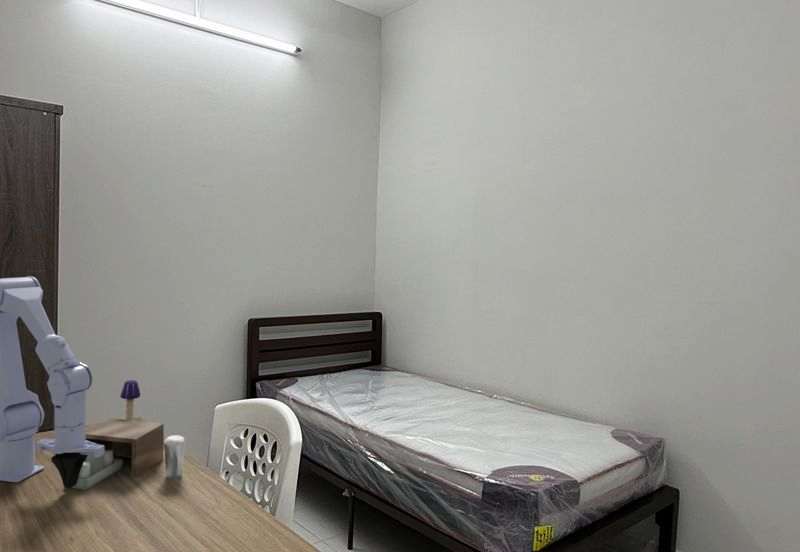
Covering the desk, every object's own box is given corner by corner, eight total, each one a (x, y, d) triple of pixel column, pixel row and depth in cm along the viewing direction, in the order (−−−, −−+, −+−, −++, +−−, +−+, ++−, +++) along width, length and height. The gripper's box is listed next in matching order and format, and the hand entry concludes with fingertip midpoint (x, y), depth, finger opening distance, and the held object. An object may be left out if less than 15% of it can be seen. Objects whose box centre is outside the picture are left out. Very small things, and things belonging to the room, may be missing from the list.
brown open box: (79, 470, 133) (79, 433, 132) (111, 453, 143) (111, 418, 143) (135, 477, 130) (136, 439, 130) (163, 458, 141) (163, 423, 141)
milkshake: (180, 481, 129) (181, 437, 129) (159, 478, 130) (159, 435, 130) (192, 473, 134) (192, 431, 133) (171, 470, 135) (171, 428, 134)
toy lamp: (133, 440, 152) (134, 378, 151) (143, 444, 150) (144, 381, 148) (115, 445, 149) (116, 381, 147) (125, 449, 146) (126, 384, 145)
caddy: (65, 487, 124) (65, 455, 124) (103, 465, 136) (103, 436, 136) (85, 489, 123) (86, 457, 123) (122, 467, 135) (122, 438, 135)
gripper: (24, 426, 119) (25, 490, 120) (88, 432, 116) (88, 498, 117) (50, 415, 126) (50, 476, 127) (111, 421, 123) (110, 483, 124)
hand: (70, 486), depth 123 cm, fingers closed, pressing on caddy
